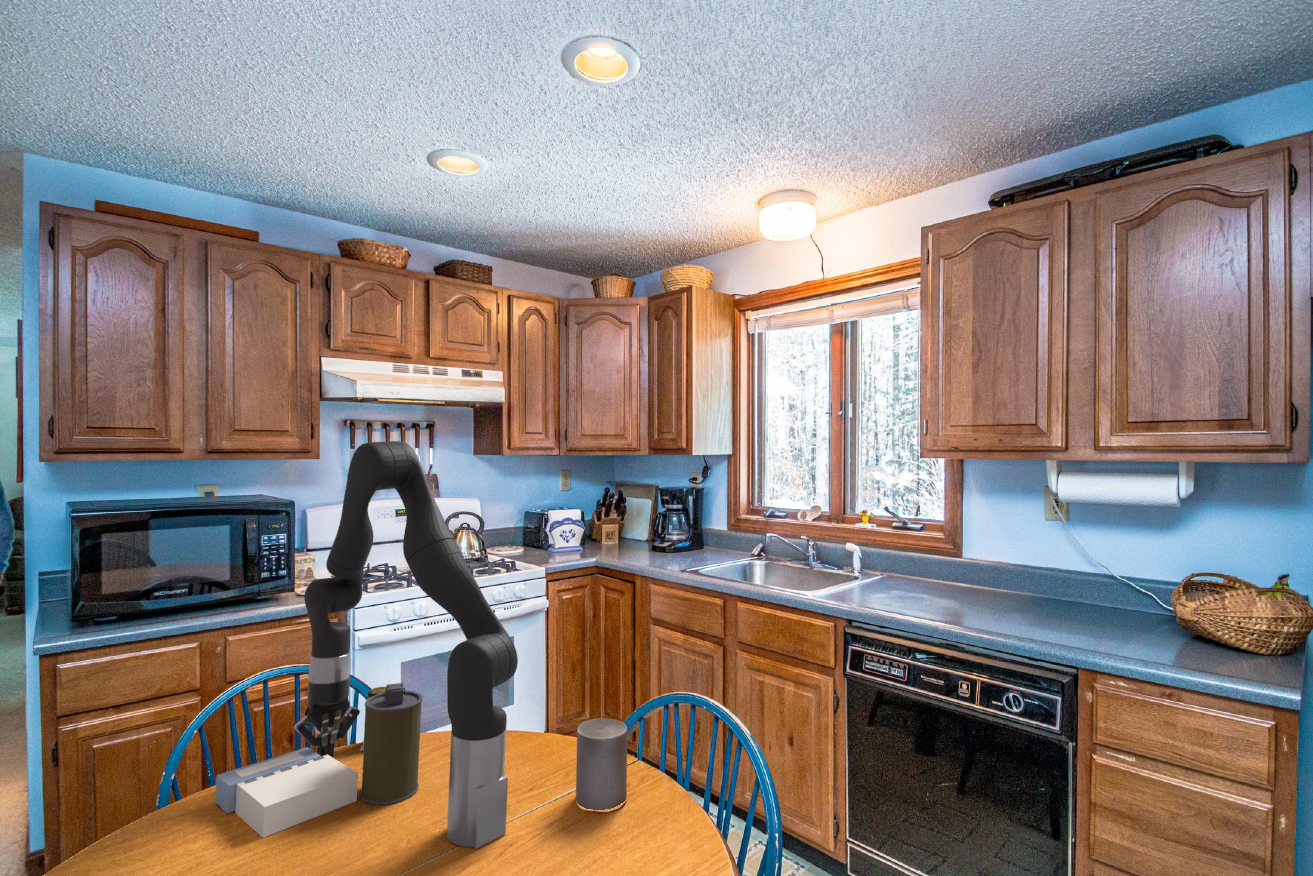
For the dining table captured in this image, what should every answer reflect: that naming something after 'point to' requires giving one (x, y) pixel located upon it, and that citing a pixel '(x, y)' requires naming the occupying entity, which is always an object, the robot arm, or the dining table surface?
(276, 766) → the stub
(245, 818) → the white box
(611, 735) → the pillar candle
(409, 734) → the canister
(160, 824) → the dining table surface
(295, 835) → the dining table surface
